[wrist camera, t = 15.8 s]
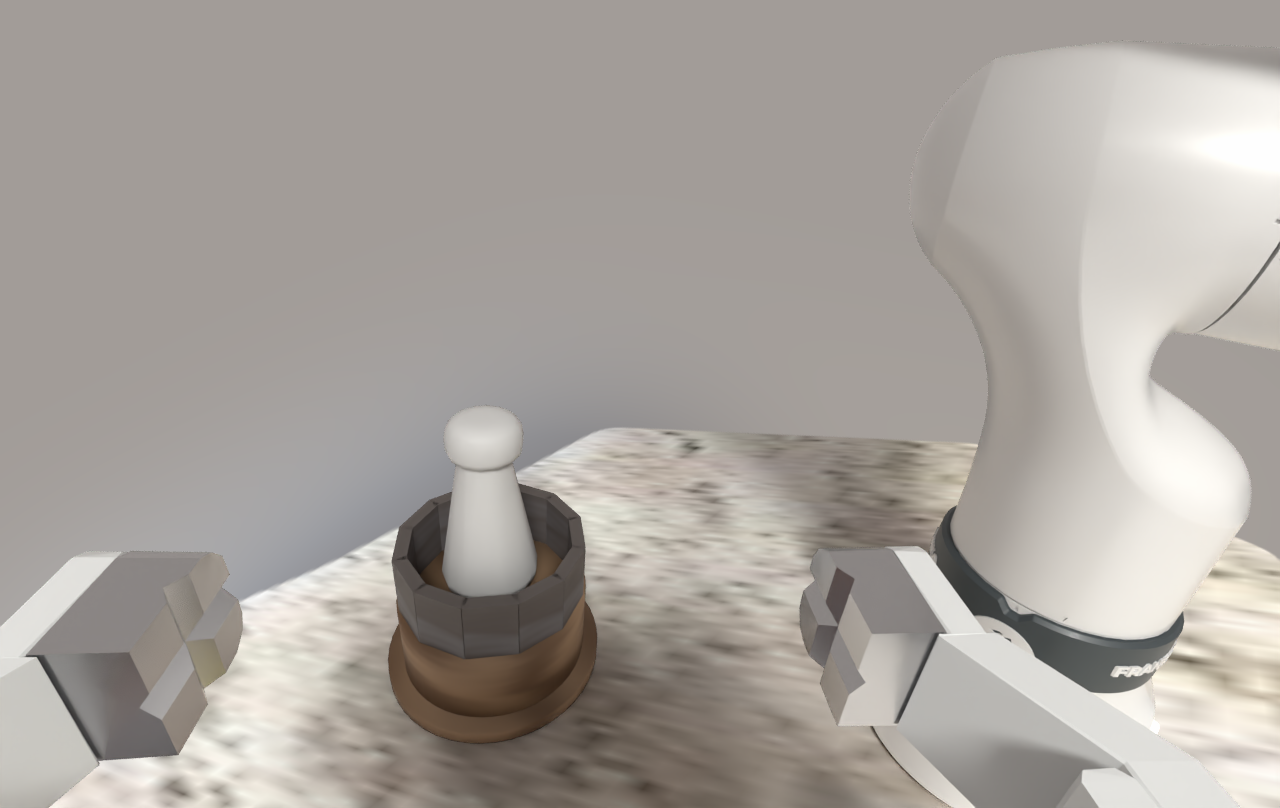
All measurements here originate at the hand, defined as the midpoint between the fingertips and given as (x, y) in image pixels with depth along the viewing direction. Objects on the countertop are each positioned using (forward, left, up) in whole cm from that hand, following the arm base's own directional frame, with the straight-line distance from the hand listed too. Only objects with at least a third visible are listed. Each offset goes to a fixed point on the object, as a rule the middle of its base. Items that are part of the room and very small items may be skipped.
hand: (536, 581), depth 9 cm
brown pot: (-10, -22, -30) cm, 38 cm away
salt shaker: (-10, -21, -24) cm, 33 cm away
